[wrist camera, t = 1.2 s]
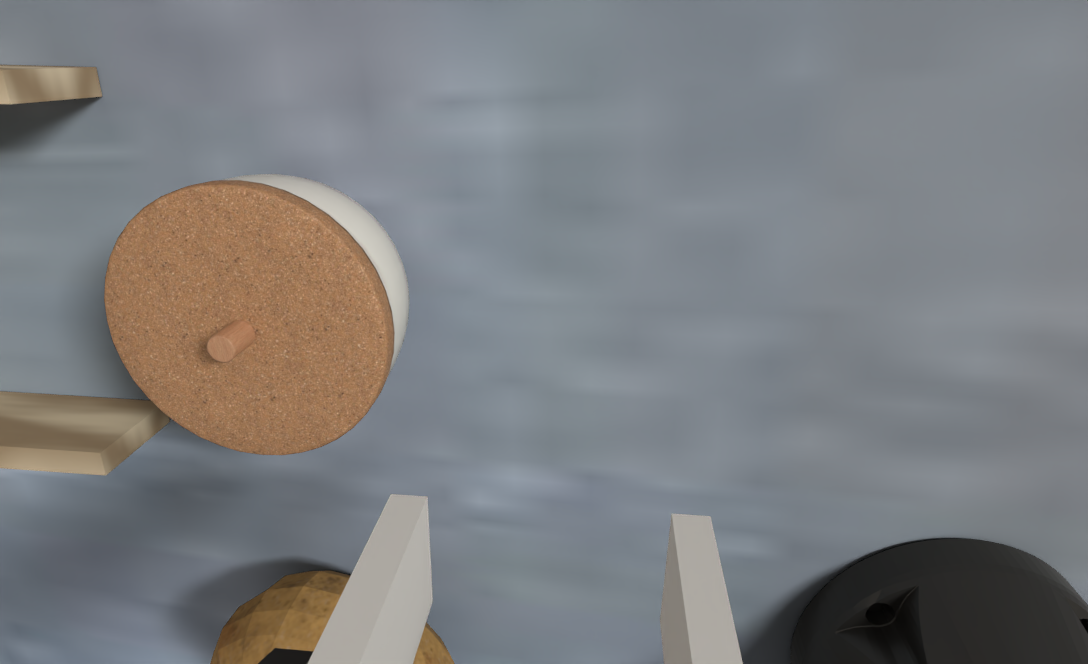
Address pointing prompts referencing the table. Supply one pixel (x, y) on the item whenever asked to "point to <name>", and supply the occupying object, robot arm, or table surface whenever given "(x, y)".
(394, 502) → the robot arm
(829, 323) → the table surface
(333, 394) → the lidded jar
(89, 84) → the bay
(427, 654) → the potato
